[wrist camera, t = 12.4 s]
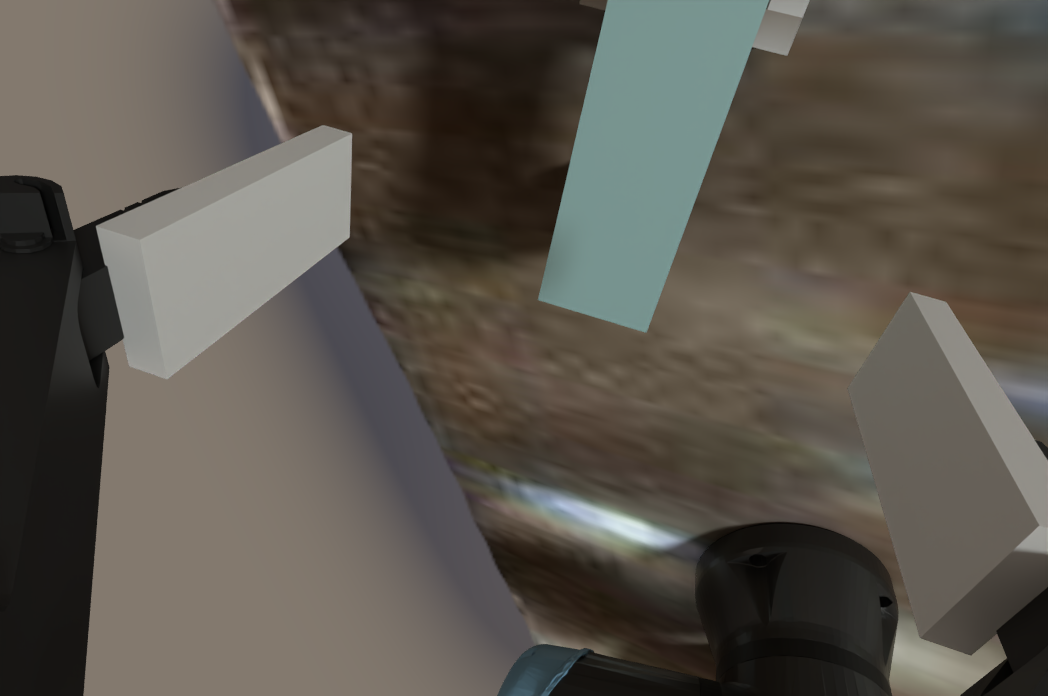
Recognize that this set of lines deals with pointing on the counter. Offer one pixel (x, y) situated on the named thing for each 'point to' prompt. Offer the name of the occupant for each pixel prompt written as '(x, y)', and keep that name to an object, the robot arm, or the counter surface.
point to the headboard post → (763, 23)
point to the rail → (644, 150)
